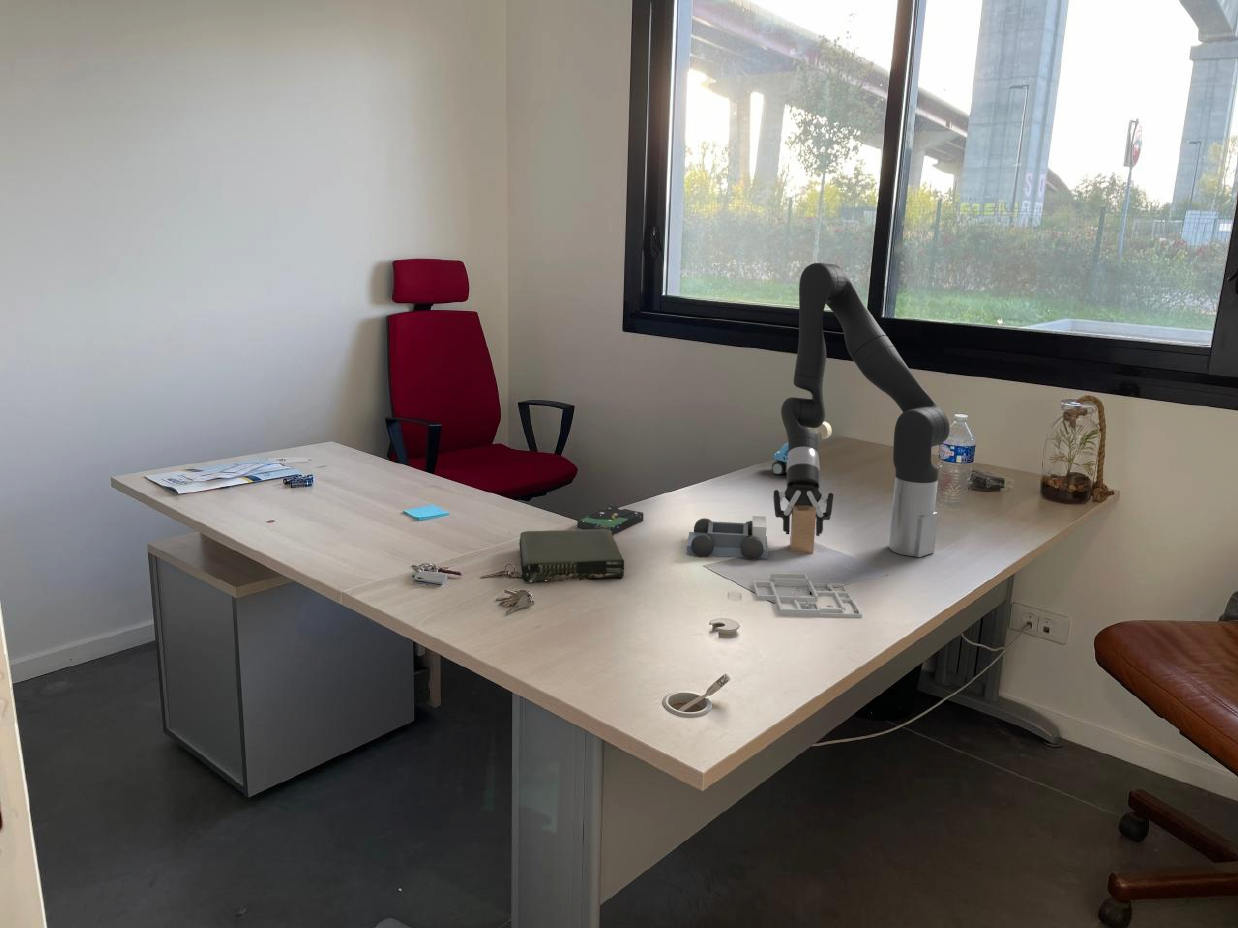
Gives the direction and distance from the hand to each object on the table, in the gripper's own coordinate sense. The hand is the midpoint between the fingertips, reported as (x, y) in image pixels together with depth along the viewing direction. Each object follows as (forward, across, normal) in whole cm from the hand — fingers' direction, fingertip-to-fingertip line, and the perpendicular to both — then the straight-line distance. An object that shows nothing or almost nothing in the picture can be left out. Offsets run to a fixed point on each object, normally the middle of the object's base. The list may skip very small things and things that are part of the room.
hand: (803, 533), depth 210 cm
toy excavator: (-45, +4, +52) cm, 69 cm away
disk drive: (-5, -46, +12) cm, 48 cm away
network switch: (+15, -51, -8) cm, 54 cm away
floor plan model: (+23, -4, -16) cm, 29 cm away
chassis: (+4, -17, +2) cm, 18 cm away
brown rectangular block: (+2, 0, +4) cm, 5 cm away
